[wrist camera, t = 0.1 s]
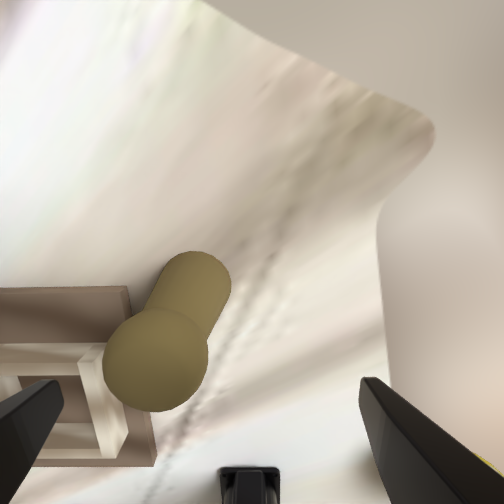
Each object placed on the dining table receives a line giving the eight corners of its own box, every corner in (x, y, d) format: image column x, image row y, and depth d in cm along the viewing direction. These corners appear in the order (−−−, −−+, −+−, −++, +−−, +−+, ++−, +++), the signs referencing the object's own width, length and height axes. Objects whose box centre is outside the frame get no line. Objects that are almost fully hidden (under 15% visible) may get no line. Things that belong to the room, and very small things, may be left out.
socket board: (157, 454, 29) (143, 494, 25) (30, 455, 29) (-1, 494, 26) (126, 286, 23) (103, 307, 19) (-33, 288, 23) (-85, 310, 20)
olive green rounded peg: (235, 312, 23) (219, 429, 13) (169, 318, 24) (99, 437, 13) (226, 247, 22) (197, 321, 11) (153, 255, 22) (59, 333, 11)
